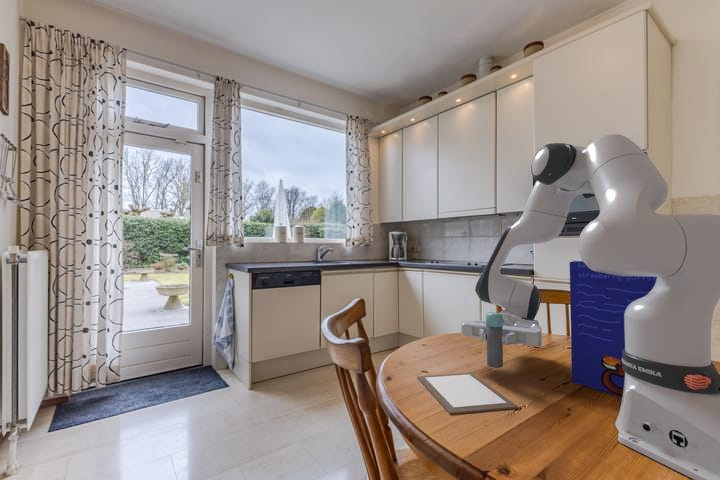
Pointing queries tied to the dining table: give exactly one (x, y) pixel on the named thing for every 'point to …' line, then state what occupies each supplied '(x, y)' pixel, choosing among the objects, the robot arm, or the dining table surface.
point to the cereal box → (601, 324)
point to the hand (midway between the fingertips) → (493, 338)
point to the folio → (465, 393)
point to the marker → (494, 339)
